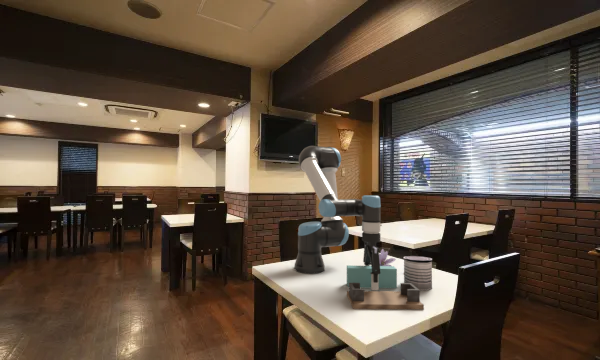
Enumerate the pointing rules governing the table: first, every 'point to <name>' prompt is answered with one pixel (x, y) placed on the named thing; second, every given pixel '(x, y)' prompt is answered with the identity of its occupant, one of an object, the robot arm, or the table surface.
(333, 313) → the table surface
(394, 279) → the teal rectangular block
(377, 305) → the endcap board
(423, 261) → the can
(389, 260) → the water lily
